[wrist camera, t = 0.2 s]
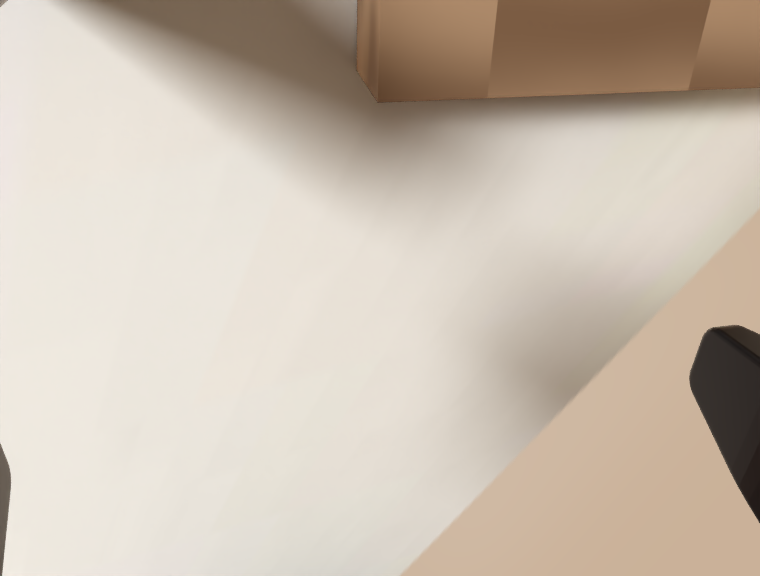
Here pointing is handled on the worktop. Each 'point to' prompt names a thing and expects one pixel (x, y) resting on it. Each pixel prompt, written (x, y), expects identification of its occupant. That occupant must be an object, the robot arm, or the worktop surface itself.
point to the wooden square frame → (554, 47)
